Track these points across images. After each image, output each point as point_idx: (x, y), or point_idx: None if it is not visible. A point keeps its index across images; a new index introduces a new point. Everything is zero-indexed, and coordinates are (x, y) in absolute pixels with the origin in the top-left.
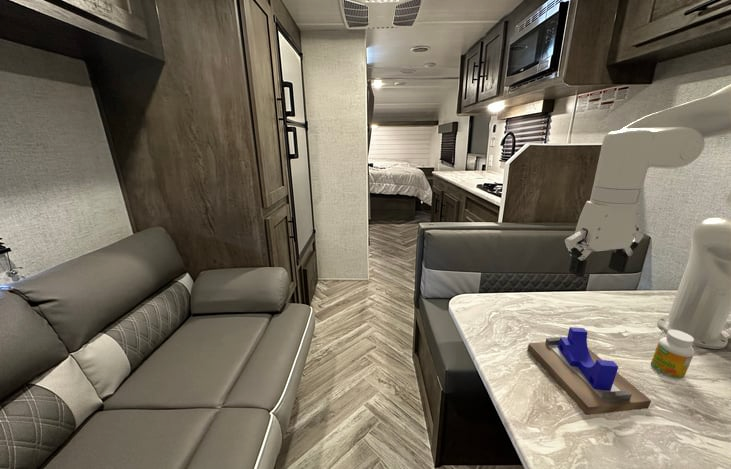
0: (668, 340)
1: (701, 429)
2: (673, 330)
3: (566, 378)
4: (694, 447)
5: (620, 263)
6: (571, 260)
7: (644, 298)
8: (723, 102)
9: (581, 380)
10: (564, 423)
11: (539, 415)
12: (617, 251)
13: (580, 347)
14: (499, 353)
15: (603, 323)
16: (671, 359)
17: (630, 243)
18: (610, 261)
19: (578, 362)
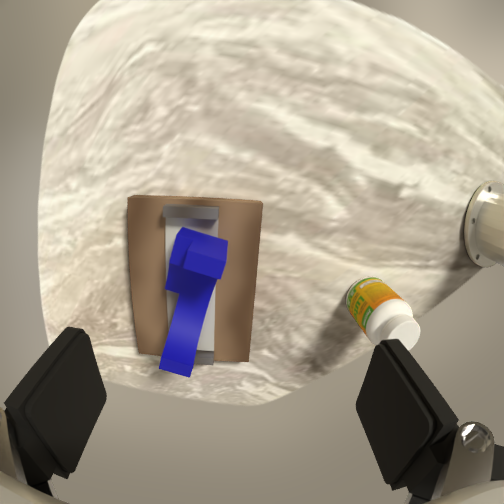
0: (383, 326)
1: (284, 380)
2: (411, 324)
3: (141, 303)
4: (245, 394)
5: (377, 435)
6: (28, 373)
7: None
8: None
9: (165, 313)
10: (106, 345)
11: (81, 328)
12: (428, 462)
13: (200, 274)
14: (74, 198)
15: (399, 148)
16: (361, 327)
17: None
18: (394, 374)
19: (178, 292)
